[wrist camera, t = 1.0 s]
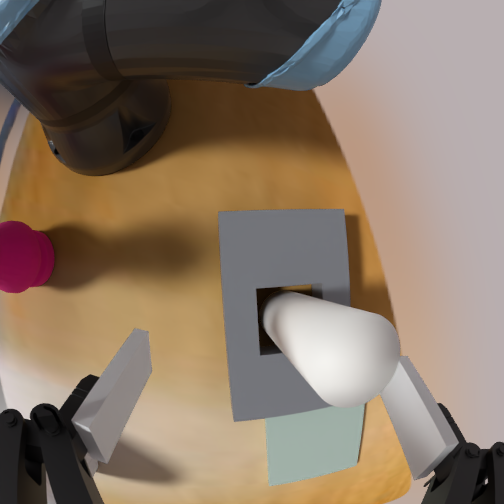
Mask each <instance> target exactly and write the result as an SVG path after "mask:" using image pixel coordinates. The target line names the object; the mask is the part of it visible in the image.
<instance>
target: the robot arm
mask: <svg viewBox="0 0 504 504" xmlns="http://www.w3.org/2000/svg"><path fill="white" fill-rule="evenodd" d="M380 6H381V0H0V84H2V86H4V87H5V88H6V89H7V90H8V91H9V92H10V93H11V94H12V95H13V96H14V97H15V98H16V99H17V100H18V101H19V102H20V103H21V104H22V105H23V106H24V107H25V108H26V109H27V110H28V111H29V112H31V113H32V114H33V115H34V116H35V117H36V118H37V119H38V120H39V121H40V122H41V125H42V128H43V130H44V133H45V136H46V138H47V141H48V144H49V146H50V149H51V151H52V153H53V154H54V156H55V157H56V158H57V159H58V160H59V161H60V162H61V163H62V164H64V165H65V166H66V167H68V168H69V169H70V170H72V171H74V172H76V173H79V174H82V175H88V176H99V175H106V174H110V173H113V172H116V171H118V170H121V169H123V168H125V167H127V166H129V165H131V164H132V163H134V162H135V161H137V160H138V159H139V158H141V157H142V156H143V155H144V154H145V153H147V152H148V151H149V150H150V149H151V148H152V146H153V145H154V144H155V143H156V142H157V140H158V139H159V138H160V136H161V135H162V133H163V131H164V129H165V127H166V125H167V123H168V120H169V117H170V112H171V97H170V92H169V87H168V84H167V81H166V79H179V80H203V81H217V82H229V83H238V84H244V86H245V87H248V88H259V87H263V86H265V87H273V88H281V89H288V90H295V91H307V90H311V89H313V88H315V87H317V86H322V85H324V84H326V83H328V82H329V81H330V80H332V79H333V78H335V77H336V76H337V75H338V74H339V73H340V72H341V71H342V70H343V69H344V68H345V67H346V66H347V65H348V64H349V63H350V62H351V61H352V59H353V58H354V57H355V55H356V54H357V53H358V51H359V50H360V48H361V47H362V45H363V43H364V42H365V41H366V39H367V37H368V35H369V33H370V31H371V29H372V28H373V25H374V23H375V21H376V18H377V15H378V13H379V9H380ZM151 372H152V365H151V356H150V345H149V332H148V331H145V330H140V329H136V328H135V329H134V330H133V332H132V333H131V334H130V336H129V337H128V338H127V340H126V341H125V343H124V344H123V345H122V347H121V348H120V349H119V351H118V352H117V354H116V355H115V356H114V358H113V359H112V361H111V362H110V364H109V365H108V366H107V368H106V369H105V371H104V372H103V374H102V375H101V376H100V377H97V376H94V375H91V374H90V375H88V376H87V377H85V378H83V379H82V380H81V381H80V382H79V384H78V385H77V386H76V389H74V390H73V392H72V394H71V395H70V396H69V397H68V399H67V400H66V401H65V403H64V404H63V406H62V407H61V408H60V410H58V409H57V408H56V407H55V406H54V405H51V404H46V403H43V404H39V405H37V406H36V407H34V408H33V409H32V411H31V413H30V419H31V420H28V419H24V418H23V416H22V415H21V413H20V412H19V411H17V410H15V409H7V410H4V411H3V412H2V413H1V414H0V504H47V488H46V472H47V475H48V479H49V482H50V486H51V489H52V492H53V496H54V499H55V502H56V504H104V502H103V500H102V498H101V496H100V494H99V491H98V489H97V487H96V484H95V482H94V480H93V477H92V475H91V472H90V470H89V467H88V464H87V462H86V459H85V458H84V457H85V456H86V454H87V452H88V453H89V454H90V456H91V458H93V459H96V460H98V461H100V462H103V463H106V464H108V462H109V459H110V457H111V455H112V453H113V451H114V449H115V446H116V444H117V442H118V440H119V438H120V436H121V434H122V432H123V429H124V427H125V425H126V423H127V421H128V419H129V417H130V415H131V413H132V411H133V409H134V407H135V405H136V403H137V400H138V398H139V396H140V394H141V392H142V390H143V388H144V386H145V384H146V382H147V380H148V378H149V376H150V374H151ZM380 395H381V398H382V400H383V402H384V405H385V407H386V409H387V412H388V414H389V417H390V419H391V421H392V424H393V426H394V429H395V431H396V434H397V436H398V439H399V441H400V444H401V447H402V449H403V452H404V454H405V457H406V460H407V462H408V465H409V468H410V470H411V473H412V476H413V479H414V480H417V479H420V478H424V477H426V476H428V475H429V474H430V473H431V472H432V471H433V470H434V472H435V475H434V476H433V477H432V478H431V479H430V480H429V481H428V482H426V483H425V485H424V487H426V486H427V485H428V484H429V483H430V484H429V487H428V489H427V492H426V494H425V496H424V499H423V501H422V503H421V504H504V443H503V442H496V443H495V444H494V445H493V446H492V447H491V448H490V449H480V448H479V447H478V446H477V445H476V444H474V443H467V442H466V440H465V438H464V437H463V435H462V433H461V431H460V430H459V428H458V426H457V424H456V423H455V421H454V419H453V418H452V417H451V414H450V412H449V411H448V410H447V408H445V406H443V405H442V404H441V403H436V401H435V399H434V398H433V396H432V395H431V393H430V391H429V389H428V388H427V386H426V385H425V383H424V381H423V380H422V378H421V377H420V375H419V373H418V372H417V370H416V369H415V367H414V366H413V364H412V362H411V361H410V359H409V358H408V356H400V357H399V362H398V366H397V369H396V371H395V373H394V376H393V377H392V379H391V381H390V382H389V384H388V385H387V386H386V387H385V389H384V390H383V391H382V392H381V393H380ZM487 478H488V483H487V484H486V485H485V480H486V479H487Z"/></svg>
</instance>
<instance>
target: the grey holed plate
mask: <svg viewBox="0 0 504 504" xmlns="http://www.w3.org/2000/svg"><path fill="white" fill-rule="evenodd" d="M218 228H219V249H220V267H221V283H222V298H223V313H224V326H225V339H226V351H227V363H228V374H229V384H230V395H231V405H232V412H233V419H234V422H236V421H247V420H256V419H264V418H272V417H279V416H285V415H291V414H297V413H302V412H308V411H313V410H317V409H322V408H327V407H331V406H333V405H330V404H328V403H327V402H325V401H324V400H323V399H322V398H321V397H320V396H319V395H318V394H317V393H316V392H315V390H314V389H313V388H312V387H311V386H310V385H309V383H308V382H307V381H306V380H305V379H304V377H303V376H302V375H301V374H300V373H299V372H298V370H297V369H296V368H295V367H294V366H293V364H292V363H291V362H290V361H289V360H288V358H287V357H286V356H285V355H284V354H283V352H282V351H281V350H280V349H279V347H278V346H277V345H271V346H261V347H259V332H258V315H257V298H256V288H269V287H282V286H294V285H306V284H312V297H315V298H318V299H322V300H326V301H329V302H333V303H337V304H341V305H344V306H348V307H350V280H349V262H348V248H347V235H346V224H345V214H344V209H290V210H251V211H224V212H218Z"/></svg>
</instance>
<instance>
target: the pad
mask: <svg viewBox="0 0 504 504" xmlns="http://www.w3.org/2000/svg"><path fill="white" fill-rule="evenodd" d="M364 406H365V403H364V404H362V405H359V406H356V407H351V408H340V407H335V406H331V407H327V408H322V409H317V410H313V411H308V412H302V413H297V414H291V415H285V416H279V417H272V418H265V425H266V444H267V462H268V481H269V486H274V485H280V484H285V483H291V482H296V481H301V480H305V479H310V478H314V477H318V476H322V475H326V474H330V473H333V472H337V471H340V470H344V469H347V468H350V467H353V466H356V465H357V460H358V454H359V447H360V440H361V433H362V425H363V416H364Z"/></svg>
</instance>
